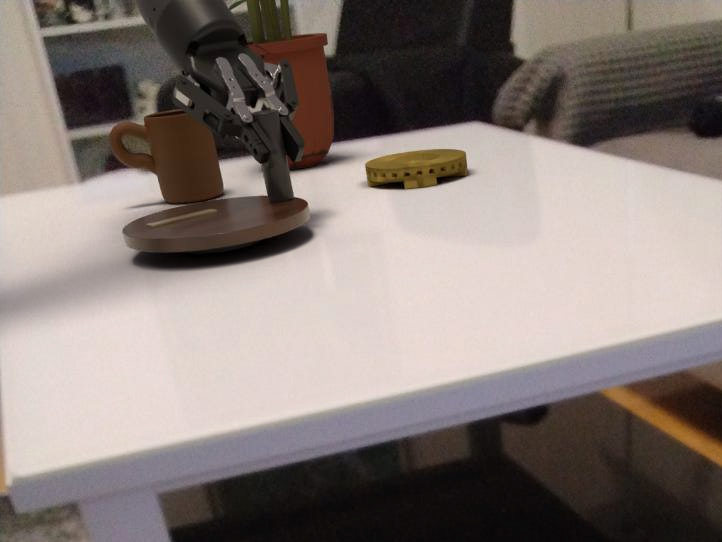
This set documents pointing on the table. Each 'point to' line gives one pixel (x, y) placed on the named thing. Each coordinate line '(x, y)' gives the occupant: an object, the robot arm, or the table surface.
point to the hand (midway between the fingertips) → (286, 157)
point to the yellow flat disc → (416, 167)
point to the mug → (173, 155)
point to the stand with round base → (227, 212)
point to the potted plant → (297, 75)
